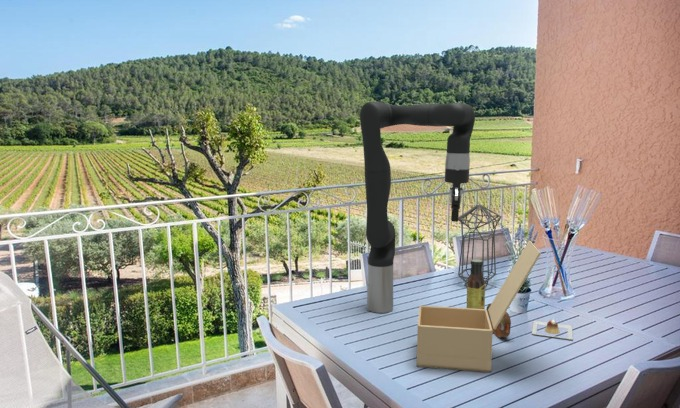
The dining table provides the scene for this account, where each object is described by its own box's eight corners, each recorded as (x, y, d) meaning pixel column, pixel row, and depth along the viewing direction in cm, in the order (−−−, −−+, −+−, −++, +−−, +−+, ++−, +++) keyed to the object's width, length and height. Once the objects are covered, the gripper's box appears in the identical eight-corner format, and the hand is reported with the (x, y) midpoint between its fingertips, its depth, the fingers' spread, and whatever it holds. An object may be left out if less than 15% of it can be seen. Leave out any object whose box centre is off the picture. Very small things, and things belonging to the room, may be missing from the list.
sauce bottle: (484, 318, 177) (487, 263, 174) (466, 317, 178) (468, 262, 176) (483, 312, 184) (485, 258, 181) (465, 311, 185) (467, 258, 182)
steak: (484, 323, 173) (485, 300, 171) (493, 323, 173) (494, 299, 172) (502, 342, 158) (503, 316, 157) (511, 341, 158) (513, 315, 157)
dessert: (533, 323, 174) (534, 310, 173) (571, 328, 169) (572, 315, 168) (531, 336, 163) (532, 322, 162) (572, 342, 158) (573, 328, 157)
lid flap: (539, 252, 132) (541, 253, 132) (529, 240, 146) (530, 241, 146) (493, 328, 137) (495, 329, 137) (488, 309, 151) (489, 310, 151)
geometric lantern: (499, 283, 218) (503, 203, 212) (489, 294, 205) (492, 209, 199) (464, 277, 226) (466, 200, 220) (451, 287, 213) (454, 205, 207)
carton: (416, 367, 141) (417, 326, 139) (418, 342, 158) (419, 305, 156) (491, 373, 138) (492, 331, 136) (485, 347, 154) (486, 309, 152)
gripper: (445, 165, 168) (442, 217, 170) (445, 168, 155) (442, 224, 157) (468, 166, 166) (465, 218, 169) (470, 169, 153) (467, 225, 156)
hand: (454, 221), depth 163 cm, fingers closed
